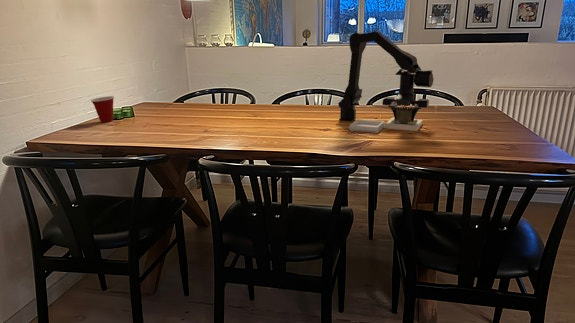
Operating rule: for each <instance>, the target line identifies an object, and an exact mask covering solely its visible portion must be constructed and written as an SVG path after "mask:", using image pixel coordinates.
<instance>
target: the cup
mask: <svg viewBox="0 0 575 323" xmlns="http://www.w3.org/2000/svg"><path fill="white" fill-rule="evenodd" d="M396 113H397V120H398V122H400V123H399V124H405V125H409V124H408V123H409V122H410V121H411V120H412V115H413V107H408V106H403V107H402V106H399V107H398V106H397V108H396Z"/></svg>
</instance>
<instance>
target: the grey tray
mask: <svg viewBox="0 0 575 323" xmlns="http://www.w3.org/2000/svg"><path fill="white" fill-rule="evenodd" d="M385 123H386V121H385V120H373V119H359V118H358V119H356V120H355V121H354V122H353V121H352V123H351V124H349V128H348V129H349V131H350V132H360V133H372V134H379V132H381V131H382V130H383V129H385Z"/></svg>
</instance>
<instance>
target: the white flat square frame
mask: <svg viewBox="0 0 575 323" xmlns="http://www.w3.org/2000/svg"><path fill="white" fill-rule="evenodd" d="M422 125H423V119H419V118H418V119H416V118H414V120H413V122H412V120H411V121H410V122H409V123H408V125H405V124H400V122H398V120H397V121H395V117H391V118H390V119H389V120H388V121H387V122H386V121H385V127H384V129H391V130H401V131H411V132H412V131H415V132H418V130H419V129H420V128H421V127H422Z"/></svg>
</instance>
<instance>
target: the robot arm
mask: <svg viewBox="0 0 575 323" xmlns="http://www.w3.org/2000/svg"><path fill="white" fill-rule="evenodd" d="M348 41H349V48H350V52H351V57H350V66H349V75H348V84H347V86H346V88H345V90H344V94H343V96H342V97H343V98H341V100H340V101H339V102H338V103H337V104H338V108H340V114H339V116H340V118H339V119H338V120H339V121H350V122H353V121H354V120H355V119H356V120H357V110H356V106H357V104H358V102H360V100H361V98H363V96H362V94H363V88H360V85H359V82H360V74H361V65H362V60H363V59H362V58H363V53H364V51H365V49H366V46H367V43H370V42H371V43H372V42H374V43H376V44H377V45H378V46H379V47H380V48H381V49H383V50H384V51H385V52H386V53H388V55H390V56H391V57H392V58H393V60H394V61H395V63H396V64H397V65H398V67H399V68H400V69H398V71H397V72H396V73H395V75H396V76H400V77H399V90H398V93H397V96H396V99H395V97H394V96H386V97H384V98H383V99H382V104H381V105H382V106H387V107H388V108H390V109H391V111H392V113H393V116H394V117H393V118H395V121H397V113H396V108H398V106H399V107H402V106H403V107H408V106H409V105H412V106H414V107H412V109H413V115H412V122H413V120H414V119H416V116H417V115H418V114H417V113H418V112H419V110H422V109H423V108H425V109H426V108H428V107H429V105H430V100H429V98H419V99H417V100H415V94H414V88H415V86H416V87H421V88H432V86H433V84H434V79H435V78H434V75H433V70H430V69H428V70H422V69H421V68H422V67H420V65H419V64H418V58H417V57H416V56H415V55H413V54H411V53H409V52H407V51H405V50H404V49H403V50H402V49H401V48H400V47H398V46H397V45H396V44H395V43H394V42H392V41H391V40H390V39H389V38H388V37H387V36H385V35H384V34H383V33H382V32H381V31H380V30H378V31H377V30H374V31H371V32H366V33H364V32H354V33H352V34H351V35H350V36H349V40H348ZM414 85H415V86H414Z"/></svg>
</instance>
